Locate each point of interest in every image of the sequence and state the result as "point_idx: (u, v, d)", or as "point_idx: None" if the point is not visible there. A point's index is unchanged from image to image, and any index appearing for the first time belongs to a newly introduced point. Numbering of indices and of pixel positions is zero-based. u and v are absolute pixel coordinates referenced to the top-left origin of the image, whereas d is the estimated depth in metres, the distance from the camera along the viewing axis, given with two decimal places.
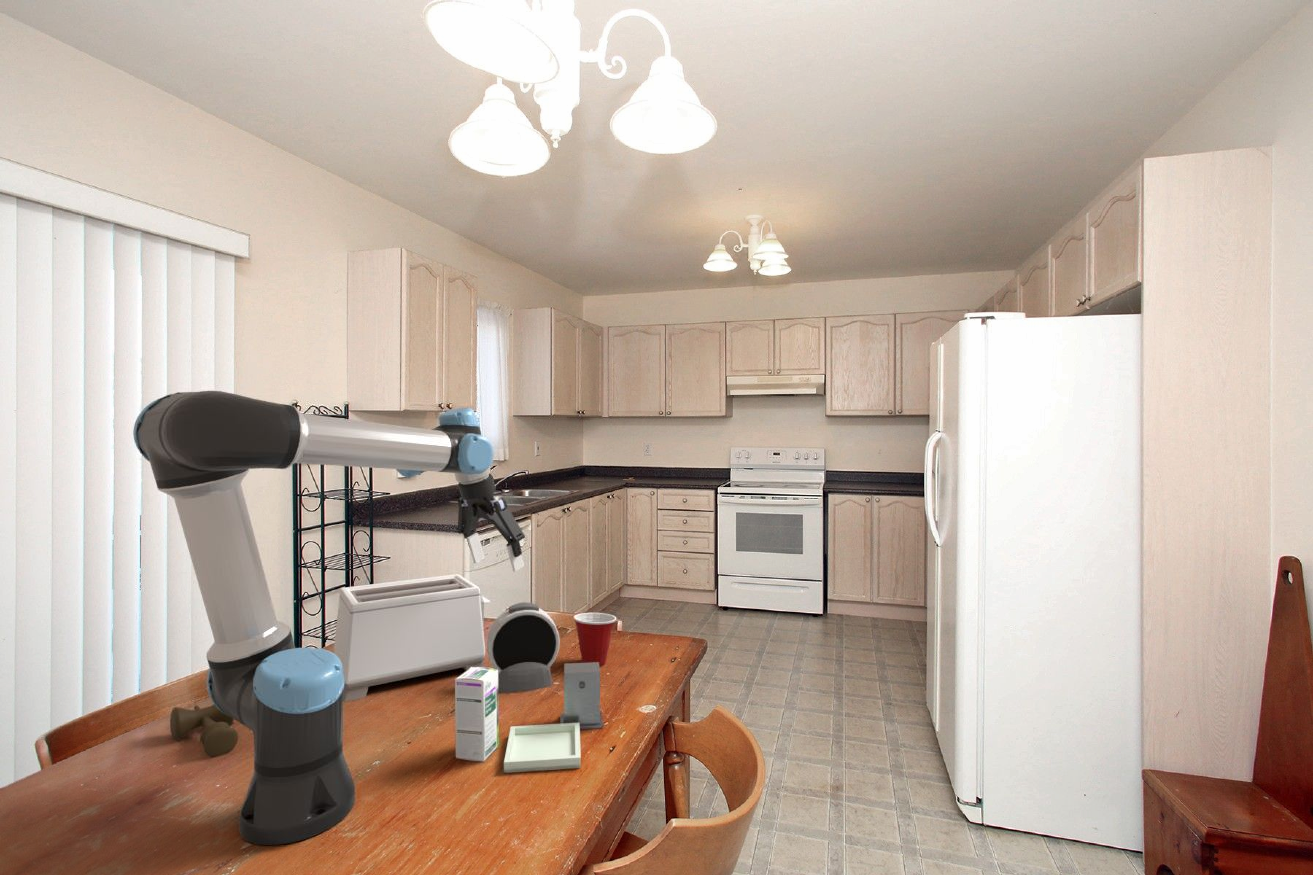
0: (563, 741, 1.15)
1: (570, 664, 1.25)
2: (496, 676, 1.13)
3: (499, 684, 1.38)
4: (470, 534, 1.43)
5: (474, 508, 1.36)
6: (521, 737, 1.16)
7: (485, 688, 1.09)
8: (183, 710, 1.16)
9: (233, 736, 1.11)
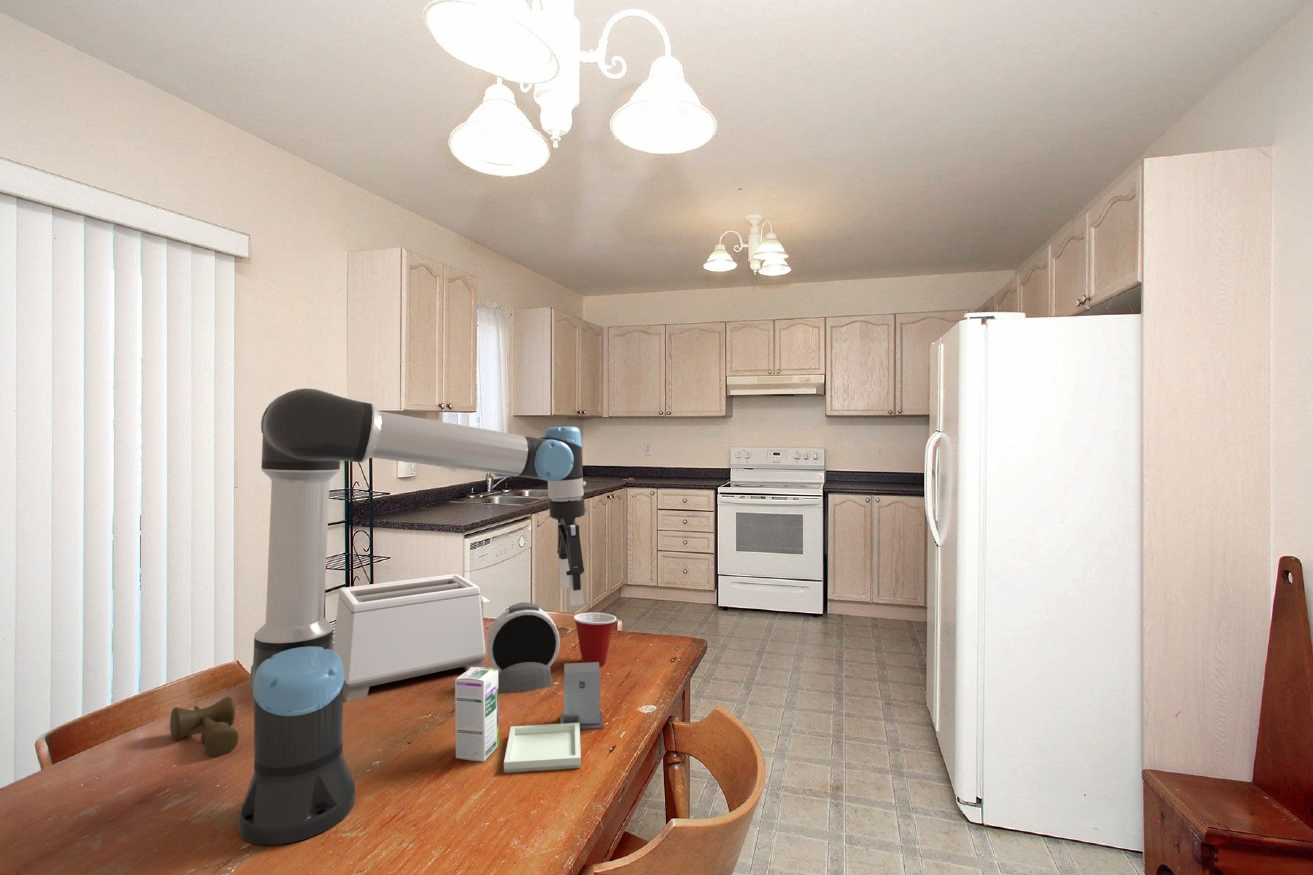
0: (563, 741, 1.15)
1: (570, 664, 1.25)
2: (496, 676, 1.13)
3: (499, 684, 1.38)
4: (564, 557, 1.40)
5: (560, 529, 1.33)
6: (521, 737, 1.16)
7: (485, 688, 1.09)
8: (183, 710, 1.16)
9: (233, 736, 1.11)
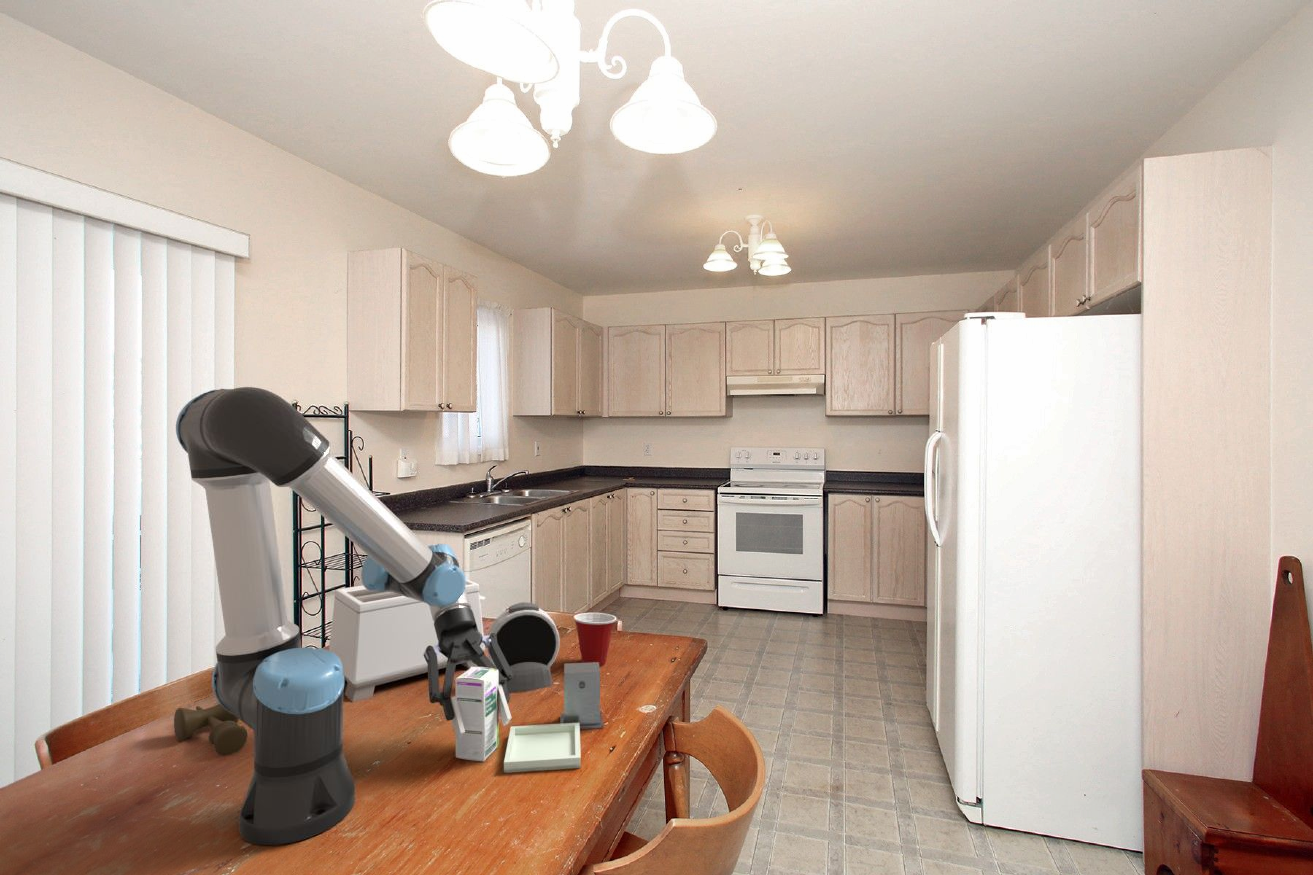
0: (563, 741, 1.15)
1: (570, 664, 1.25)
2: (496, 676, 1.13)
3: None
4: None
5: None
6: (521, 737, 1.16)
7: (485, 688, 1.09)
8: (188, 710, 1.16)
9: (243, 734, 1.12)
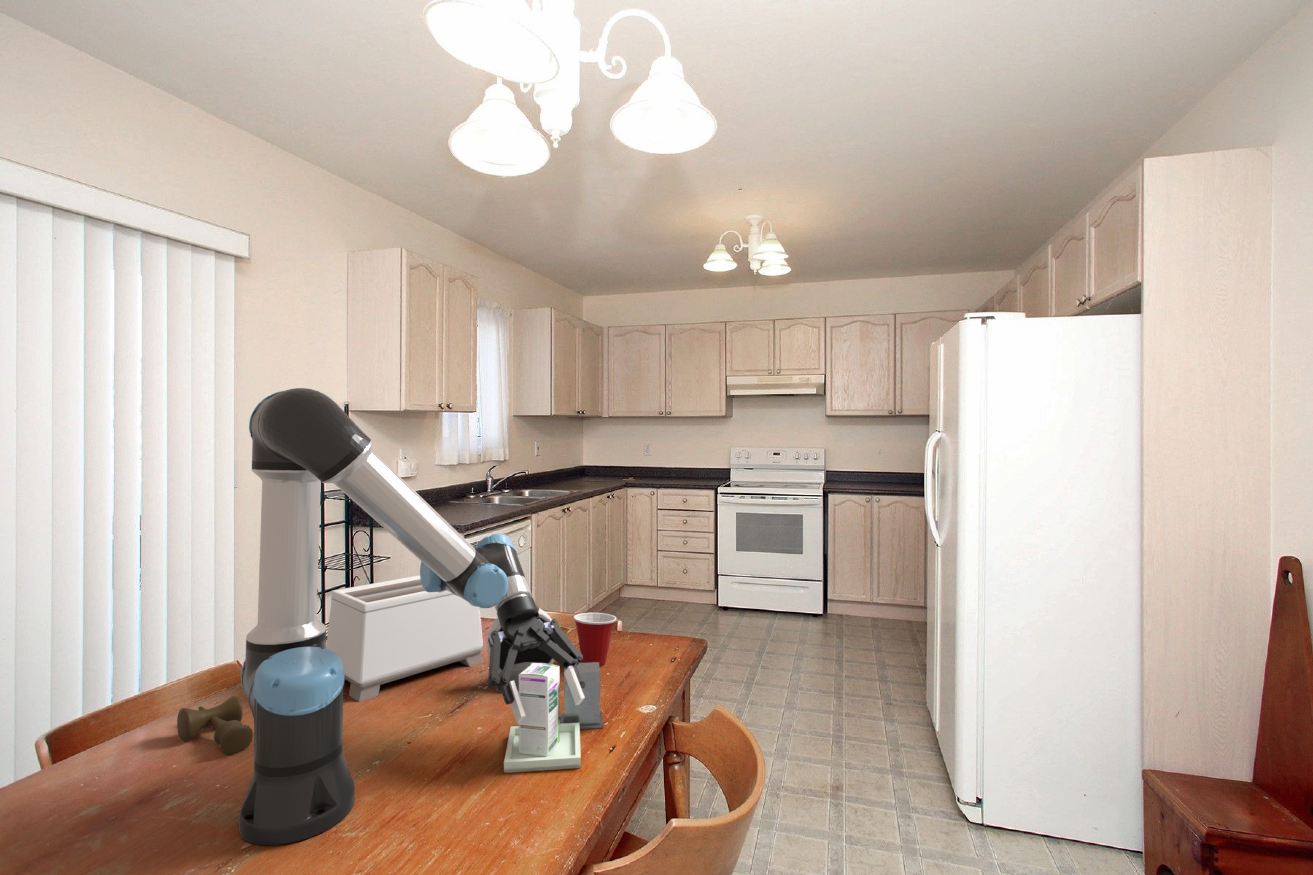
0: (563, 741, 1.15)
1: None
2: (557, 672, 1.14)
3: None
4: None
5: None
6: None
7: (549, 684, 1.10)
8: (192, 710, 1.16)
9: (248, 733, 1.12)
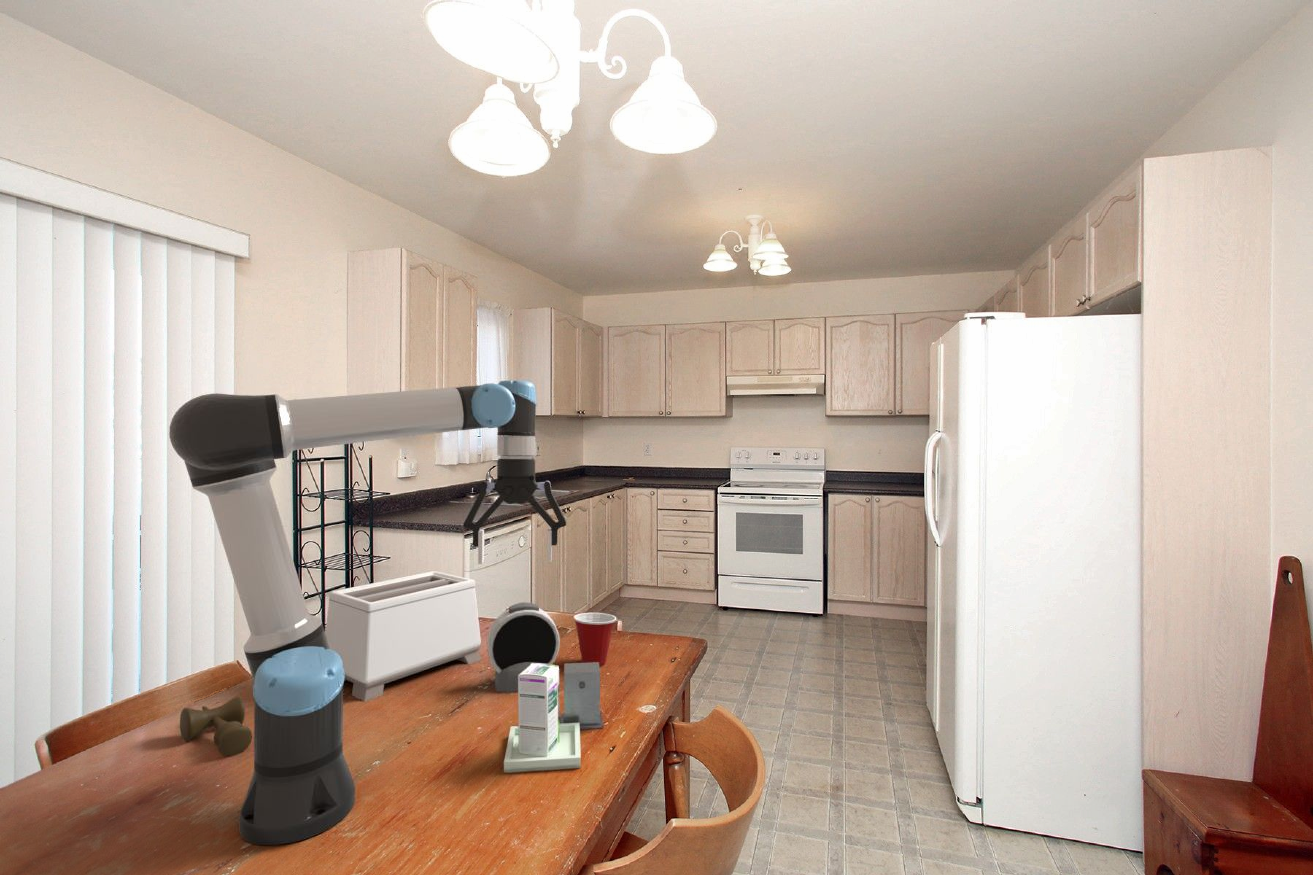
0: (563, 741, 1.15)
1: (570, 664, 1.25)
2: (557, 672, 1.14)
3: (499, 684, 1.38)
4: (479, 529, 1.24)
5: (511, 490, 1.23)
6: None
7: (548, 684, 1.10)
8: (194, 710, 1.16)
9: (247, 735, 1.12)
